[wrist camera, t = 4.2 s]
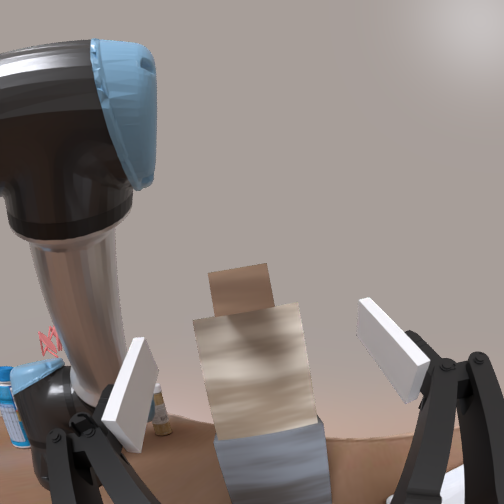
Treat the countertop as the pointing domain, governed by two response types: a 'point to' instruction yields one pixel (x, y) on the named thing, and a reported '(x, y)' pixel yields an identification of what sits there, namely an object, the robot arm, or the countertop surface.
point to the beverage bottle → (11, 411)
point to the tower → (264, 407)
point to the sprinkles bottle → (160, 414)
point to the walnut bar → (241, 290)
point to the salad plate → (450, 487)
